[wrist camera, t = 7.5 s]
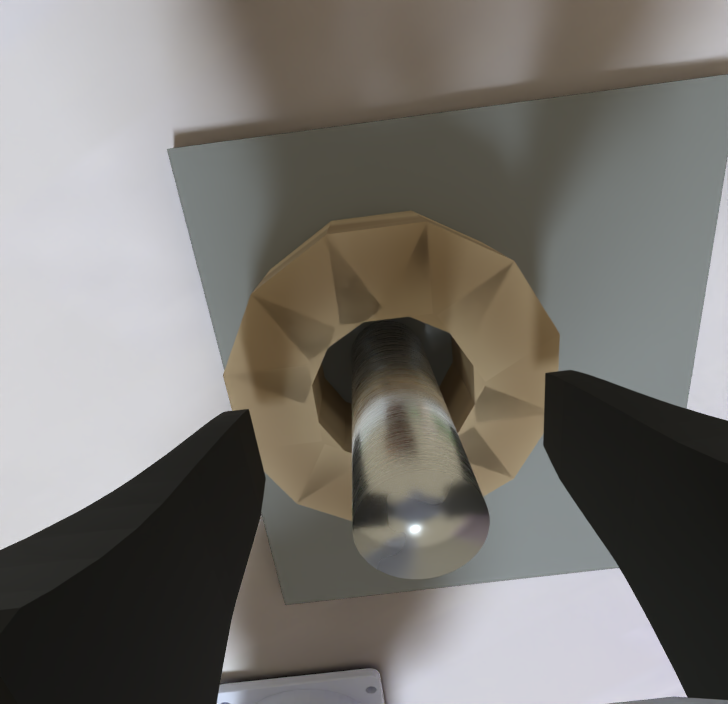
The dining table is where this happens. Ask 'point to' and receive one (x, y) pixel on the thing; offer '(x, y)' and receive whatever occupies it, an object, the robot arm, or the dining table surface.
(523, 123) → the mat
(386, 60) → the dining table surface
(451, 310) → the bead
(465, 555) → the steel peg
